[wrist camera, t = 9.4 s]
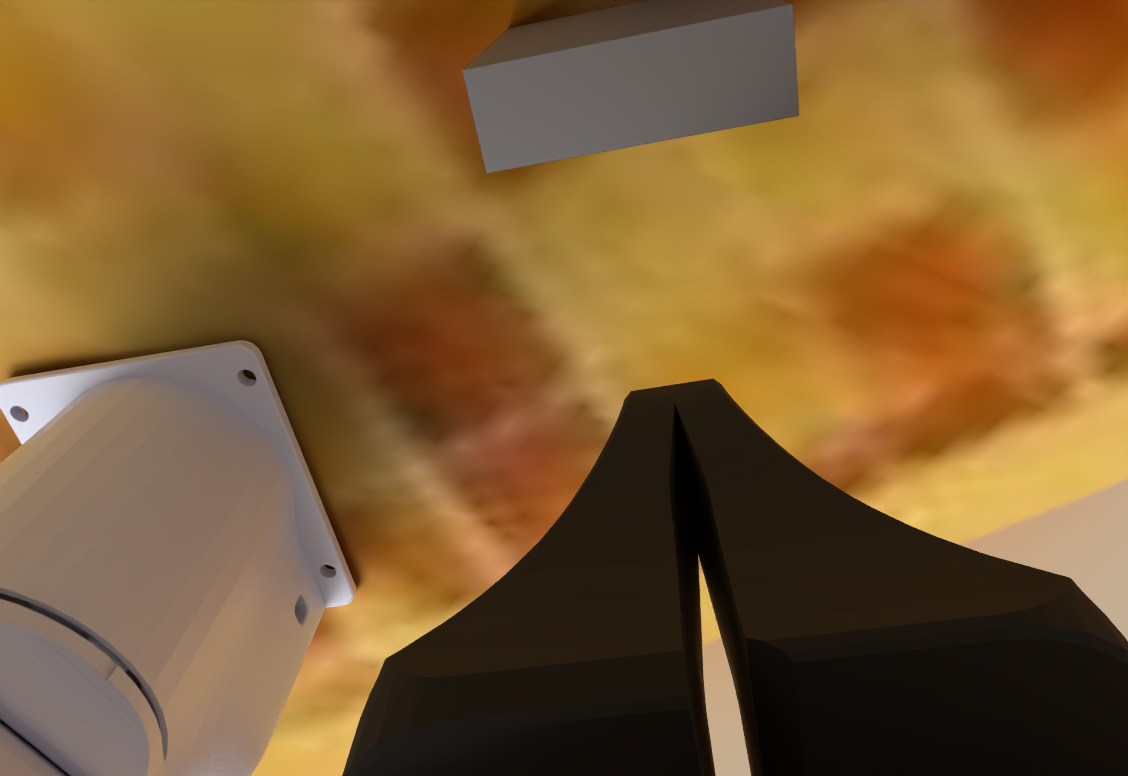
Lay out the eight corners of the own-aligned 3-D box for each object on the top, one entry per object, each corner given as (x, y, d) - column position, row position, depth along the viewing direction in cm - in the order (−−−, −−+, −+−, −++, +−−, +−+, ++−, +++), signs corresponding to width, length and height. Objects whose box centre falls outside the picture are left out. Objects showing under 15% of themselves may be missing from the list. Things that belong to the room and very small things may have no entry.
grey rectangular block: (734, 59, 19) (798, 116, 13) (522, 100, 20) (486, 172, 13) (728, -17, 18) (793, 3, 12) (507, 28, 19) (462, 70, 13)
